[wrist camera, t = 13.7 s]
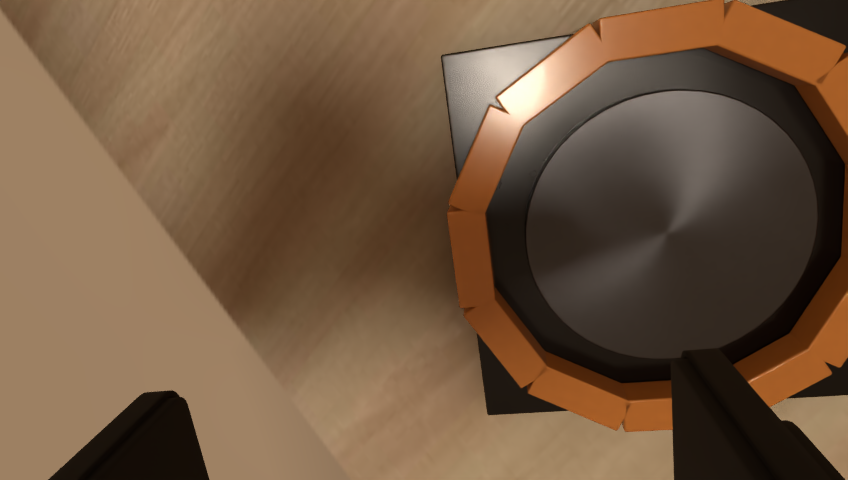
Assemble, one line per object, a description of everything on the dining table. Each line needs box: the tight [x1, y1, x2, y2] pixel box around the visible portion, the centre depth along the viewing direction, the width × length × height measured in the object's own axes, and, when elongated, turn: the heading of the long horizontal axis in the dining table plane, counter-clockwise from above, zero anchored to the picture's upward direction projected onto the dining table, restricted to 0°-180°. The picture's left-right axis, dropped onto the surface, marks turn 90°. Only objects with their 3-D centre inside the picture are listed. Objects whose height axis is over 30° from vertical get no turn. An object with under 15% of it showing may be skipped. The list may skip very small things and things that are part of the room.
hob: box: [441, 0, 848, 415], centre depth 23 cm, size 16×16×2 cm
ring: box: [447, 0, 848, 432], centre depth 22 cm, size 16×16×2 cm
